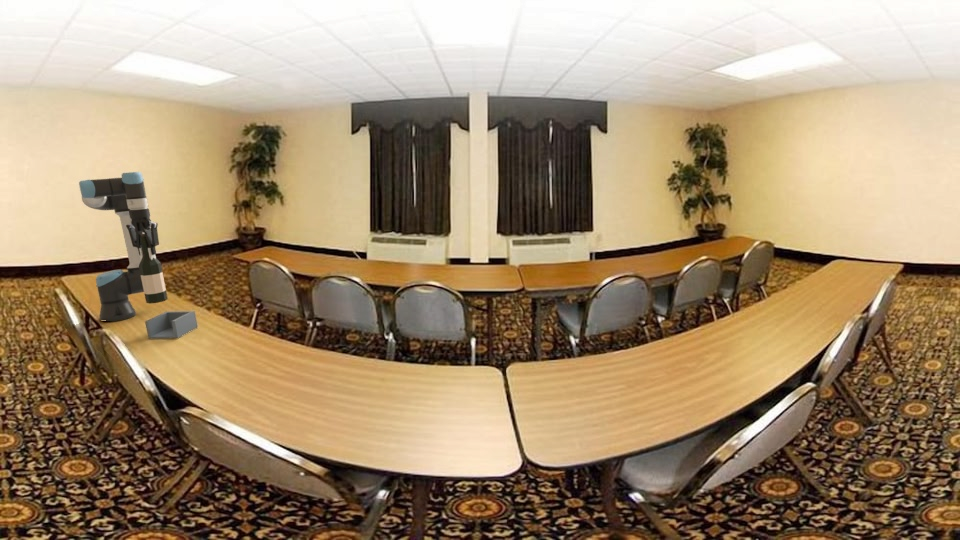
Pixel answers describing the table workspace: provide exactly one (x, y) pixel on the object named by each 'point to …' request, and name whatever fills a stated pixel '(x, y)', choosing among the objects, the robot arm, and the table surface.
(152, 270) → the wine bottle
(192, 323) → the bottle stand
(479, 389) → the table surface
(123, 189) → the robot arm
